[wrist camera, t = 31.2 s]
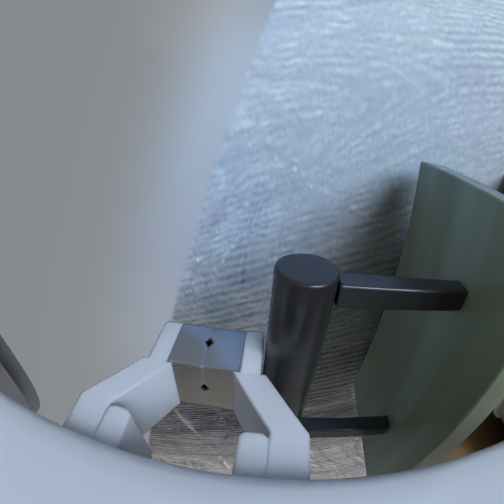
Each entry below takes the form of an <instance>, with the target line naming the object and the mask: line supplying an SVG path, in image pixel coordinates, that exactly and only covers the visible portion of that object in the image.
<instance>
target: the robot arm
mask: <svg viewBox="0 0 504 504" xmlns="http://www.w3.org/2000/svg"><path fill="white" fill-rule="evenodd" d="M264 337H265V334H264V332H251V331H238V330H228V329H219V328H211V327H204V326H197V325H191V324H185V323H184V324H183V323H177V322H171V321H168V322H167V323H166V324H165V325H164V328H163V329H162V331H161V333H160V335H159V337H158V339H157V341H156V343H155V345H154V347H153V349H152V351H151V353H150V355H149V357H148V358H146V357H143V358H141V359H139V360H138V361H136V362H134V363H133V364H131V365H129V366H127V367H125V368H124V369H122V370H120V371H119V372H117V373H115V374H113V375H112V376H110V377H108V378H106V379H104V380H103V381H101V382H99V383H98V384H96V385H94V386H92V387H90V388H88V389H87V390H85V391H83V392H82V393H81V395H80V396H79V398H78V400H77V402H76V403H75V405H74V407H73V408H72V410H71V412H70V414H69V415H68V417H67V419H66V421H65V423H64V424H63V426H61V425H59V424H57V423H55V422H53V421H51V420H49V419H47V418H45V417H43V416H41V415H39V414H37V413H35V412H34V411H32V410H30V409H28V408H27V407H25V406H23V405H21V404H20V403H18V402H16V401H15V400H13V399H11V398H10V397H8V396H7V395H5V394H3V393H2V392H0V504H504V441H502V442H500V443H498V444H495V445H492V446H490V447H487V448H485V449H482V450H479V451H476V452H473V453H470V454H467V455H464V456H461V457H458V458H455V459H451V460H448V461H444V462H440V463H437V464H433V465H428V466H424V467H420V468H415V469H410V470H405V471H400V472H394V473H388V474H381V475H373V476H365V477H355V478H342V479H323V480H310V435H309V433H308V432H307V431H306V429H305V428H304V427H303V425H302V424H301V423H300V421H299V420H298V419H297V417H296V416H295V415H294V413H293V412H292V411H291V409H290V408H289V407H288V405H287V404H286V402H285V401H284V400H283V398H282V397H281V395H280V394H279V393H278V391H277V390H276V389H275V387H274V386H273V384H272V383H271V381H270V380H269V379H268V377H267V376H266V375H261V367H262V357H263V347H264ZM180 401H182V402H188V403H195V404H202V405H209V406H214V407H220V408H226V409H233V410H234V412H235V415H236V417H237V419H238V421H239V423H240V425H241V427H242V429H243V431H244V433H242V434H241V435H239V439H238V445H237V450H236V456H235V462H234V467H233V473H232V475H227V474H220V473H213V472H207V471H201V470H196V469H191V468H186V467H181V466H177V465H173V464H168V463H164V462H160V461H157V460H153V459H150V458H151V455H152V452H151V450H150V448H149V446H148V445H147V443H146V441H145V439H144V437H143V436H142V435H143V434H144V433H146V432H147V431H148V430H149V429H151V428H152V427H153V426H154V425H155V424H157V423H158V422H159V421H160V420H161V419H162V418H164V417H165V416H166V415H167V414H168V413H169V412H171V411H172V410H173V409H174V408H175V407H176V406H177V405H179V404H180Z"/></svg>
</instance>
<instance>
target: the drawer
mask: <svg viewBox="0 0 504 504" xmlns="http://www.w3.org/2000/svg"><path fill="white" fill-rule="evenodd" d="M334 301H335V306H336V307H338V308H354V309H376V310H384V311H383V314H382V317H381V319H380V322H379V325H378V327H377V330H376V333H375V335H374V338H373V340H372V343H371V345H370V348H369V350H368V353H367V355H366V358H365V360H364V362H363V365H362V367H361V369H360V372H359V374H358V376H357V378H356V380H355V383H354V390H355V396H356V402H357V408H358V414H359V417H349V418H300V417H301V414H302V411H303V408H304V405H305V402H306V399H307V396H308V393H309V390H310V387H311V384H312V381H313V377H314V374H315V371H316V367H317V364H318V361H319V357H320V354H321V350H322V347H323V343H324V339H325V336H326V332H327V328H328V324H329V320H330V317H331V313H332V309H333V304H334ZM263 375H266V376H267V377H268V379H269V380H270V381H271V383H272V384H273V386H274V387H275V389H276V390H277V391H278V393H279V394H280V395H281V397H282V398H283V400H284V401H285V402H286V404H287V405H288V407H289V408H290V409H291V411H292V412H293V413H294V415H295V416H296V417H297V419H298V420H299V421H300V423H301V424H302V425H303V427H304V428H305V429H306V431H307V432H308V433H309V435H310V437H350V436H362V441H363V449H364V456H365V465H366V474H367V476H373V475H381V474H388V473H394V472H400V471H405V470H410V469H415V468H420V467H424V466H428V465H433V464H437V463H440V462H444V461H448V460H451V459H455V458H458V457H461V456H464V455H467V454H470V453H473V452H476V451H479V450H482V449H485V448H487V447H490V446H492V445H495V444H498V443H500V442H502V441H504V424H503V422H502V419H501V418H497V417H495V415H494V413H493V410H494V409H495V407H496V406H497V405H498V404H499V403H500V402H501V400H502V399H503V398H504V194H502V193H500V192H498V191H496V190H494V189H493V188H491V187H489V186H487V185H485V184H483V183H480V182H478V181H476V180H474V179H472V178H470V177H468V176H466V175H463V174H461V173H459V172H457V171H454V170H452V169H450V168H447V167H445V166H441V165H437V164H432V163H428V162H424V161H423V162H421V165H420V171H419V177H418V183H417V188H416V194H415V199H414V203H413V208H412V213H411V217H410V222H409V226H408V230H407V234H406V238H405V242H404V246H403V250H402V253H401V257H400V261H399V264H398V267H397V271H396V274H395V276H380V275H367V274H353V273H340V272H339V270H338V268H337V267H336V266H335V265H334V264H333V263H332V262H330V261H329V260H327V259H325V258H322V257H319V256H316V255H311V254H290V255H286V256H284V257H282V258H280V259H279V260H278V261H277V262H276V264H275V266H274V274H273V284H272V294H271V304H270V314H269V323H268V333H267V342H266V351H265V360H264V369H263Z"/></svg>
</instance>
